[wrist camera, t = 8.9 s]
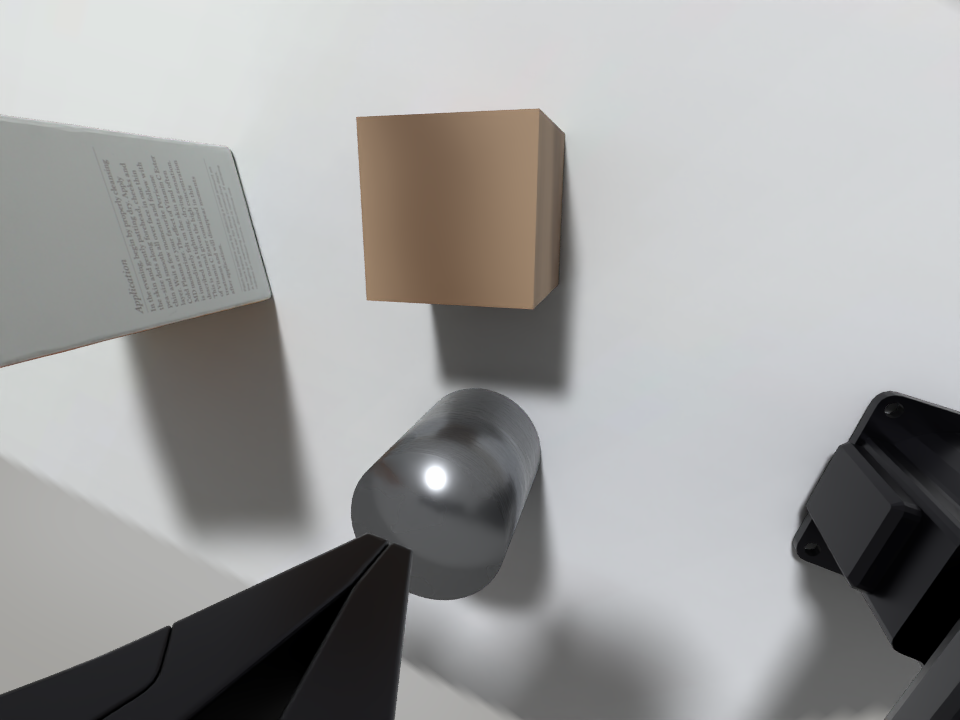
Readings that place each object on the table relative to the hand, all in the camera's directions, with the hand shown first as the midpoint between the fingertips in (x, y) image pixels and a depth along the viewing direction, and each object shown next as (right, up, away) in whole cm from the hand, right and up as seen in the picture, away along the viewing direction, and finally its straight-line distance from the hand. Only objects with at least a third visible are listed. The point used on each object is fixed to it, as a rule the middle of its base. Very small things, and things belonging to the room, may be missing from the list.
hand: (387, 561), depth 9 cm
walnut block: (+2, +9, +10) cm, 13 cm away
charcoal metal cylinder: (+2, 0, +13) cm, 13 cm away
